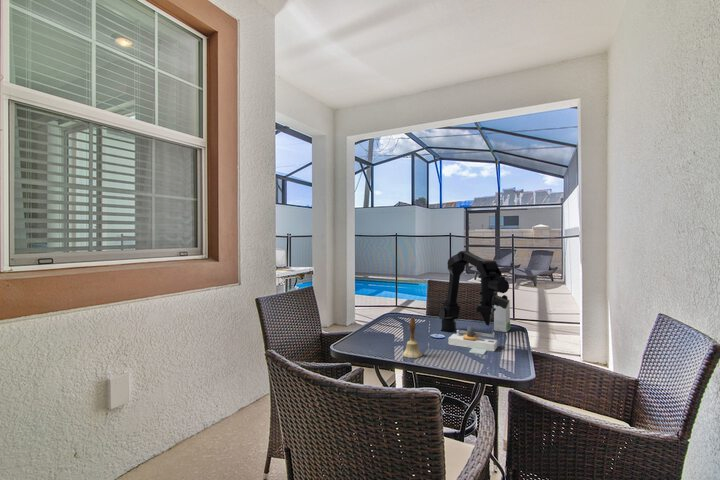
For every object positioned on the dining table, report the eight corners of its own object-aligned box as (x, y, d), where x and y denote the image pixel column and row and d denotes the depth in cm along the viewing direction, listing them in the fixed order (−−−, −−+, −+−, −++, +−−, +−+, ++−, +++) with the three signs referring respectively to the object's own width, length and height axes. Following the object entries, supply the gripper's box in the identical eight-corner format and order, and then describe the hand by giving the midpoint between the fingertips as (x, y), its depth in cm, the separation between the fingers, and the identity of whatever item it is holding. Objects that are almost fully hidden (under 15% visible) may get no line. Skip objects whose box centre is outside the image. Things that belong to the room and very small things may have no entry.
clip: (456, 332, 165) (456, 327, 165) (457, 331, 167) (457, 327, 167) (494, 337, 156) (494, 332, 156) (494, 336, 158) (494, 331, 158)
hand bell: (405, 350, 154) (405, 314, 153) (424, 353, 150) (423, 316, 150) (400, 356, 146) (399, 318, 146) (419, 359, 143) (419, 320, 142)
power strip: (448, 344, 162) (448, 335, 162) (453, 340, 168) (453, 331, 168) (494, 351, 151) (494, 341, 151) (497, 346, 158) (497, 337, 158)
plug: (461, 346, 159) (461, 328, 159) (465, 342, 165) (465, 325, 164) (475, 348, 156) (475, 330, 156) (479, 344, 161) (479, 327, 161)
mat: (469, 352, 150) (469, 351, 150) (472, 348, 155) (472, 347, 155) (483, 355, 147) (483, 354, 147) (486, 350, 152) (486, 349, 152)
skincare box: (506, 332, 180) (506, 302, 179) (493, 330, 184) (492, 300, 183) (510, 329, 186) (510, 299, 186) (497, 327, 190) (497, 298, 190)
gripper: (504, 294, 140) (504, 333, 140) (511, 287, 156) (511, 322, 156) (475, 292, 146) (475, 329, 146) (485, 286, 162) (485, 319, 162)
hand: (487, 325), depth 152 cm, fingers closed
